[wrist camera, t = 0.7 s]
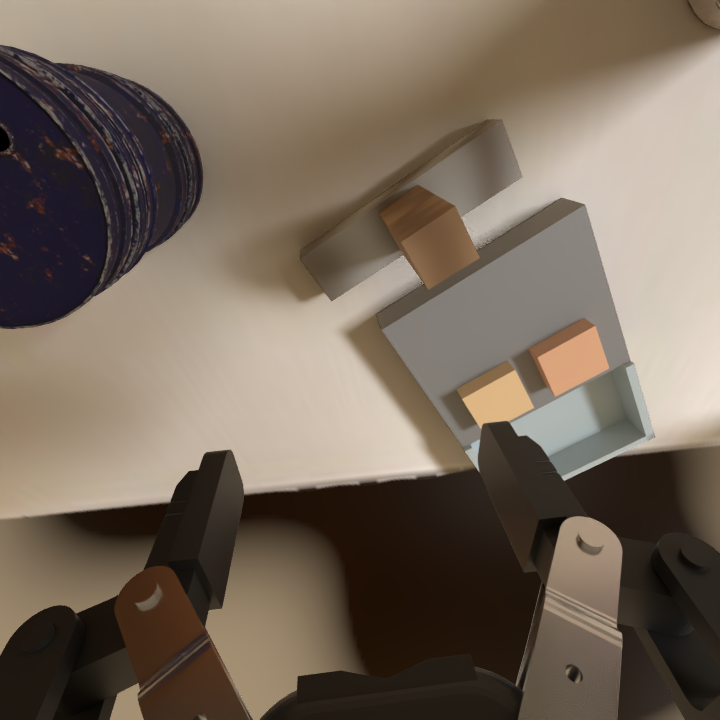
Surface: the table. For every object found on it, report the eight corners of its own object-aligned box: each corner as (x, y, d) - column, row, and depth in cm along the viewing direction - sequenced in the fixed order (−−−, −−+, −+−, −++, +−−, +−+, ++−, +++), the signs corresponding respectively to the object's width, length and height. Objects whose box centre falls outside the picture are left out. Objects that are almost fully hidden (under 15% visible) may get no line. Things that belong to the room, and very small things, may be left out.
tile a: (584, 317, 33) (595, 325, 32) (598, 359, 35) (609, 368, 34) (528, 348, 34) (537, 357, 32) (546, 387, 36) (555, 396, 35)
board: (561, 197, 30) (585, 204, 28) (608, 344, 38) (630, 360, 36) (375, 314, 34) (381, 329, 31) (453, 427, 42) (463, 447, 39)
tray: (608, 344, 38) (634, 363, 35) (631, 415, 44) (655, 437, 41) (453, 427, 42) (464, 451, 39) (492, 484, 47) (504, 508, 44)
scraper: (486, 119, 27) (573, 118, 18) (506, 172, 29) (593, 195, 20) (300, 249, 31) (297, 302, 22) (329, 289, 32) (338, 353, 24)
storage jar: (150, 267, 30) (32, 374, 17) (12, 160, 25) (-286, 198, 13) (235, 166, 27) (170, 206, 14) (96, 28, 23) (-177, -94, 10)
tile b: (507, 360, 34) (515, 369, 33) (526, 397, 37) (534, 407, 35) (456, 389, 35) (461, 399, 34) (478, 423, 38) (484, 434, 36)
